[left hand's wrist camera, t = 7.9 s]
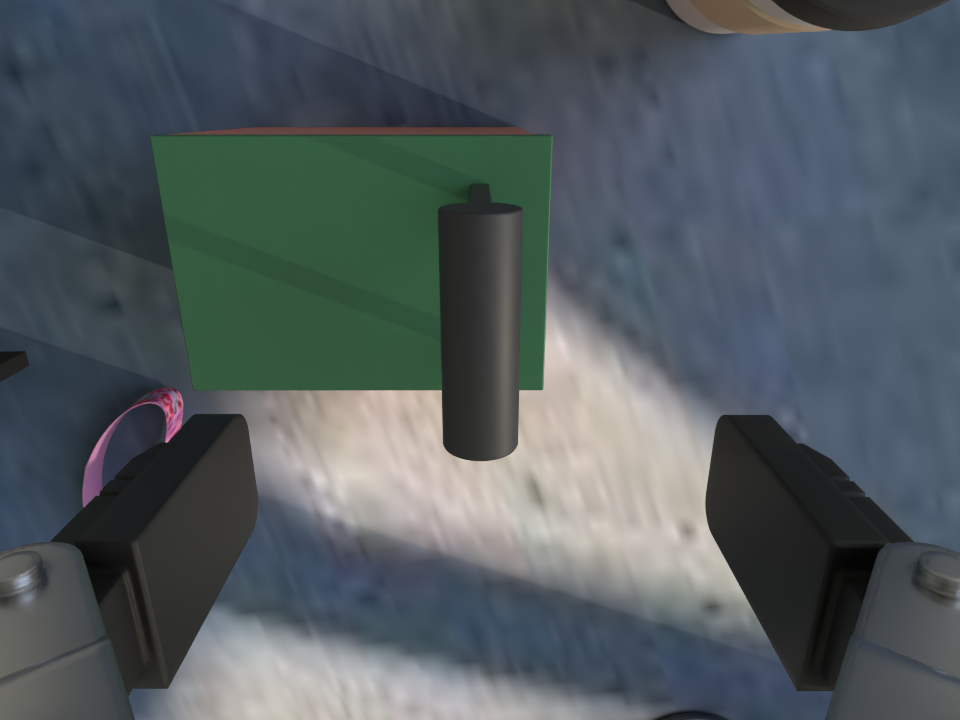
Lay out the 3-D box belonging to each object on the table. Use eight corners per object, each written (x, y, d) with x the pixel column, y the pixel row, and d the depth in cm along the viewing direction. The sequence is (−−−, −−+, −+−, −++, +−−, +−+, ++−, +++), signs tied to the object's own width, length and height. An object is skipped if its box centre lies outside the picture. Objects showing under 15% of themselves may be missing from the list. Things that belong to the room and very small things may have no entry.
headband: (127, 369, 38) (108, 384, 36) (194, 395, 39) (178, 411, 37) (84, 514, 41) (64, 535, 39) (146, 535, 42) (130, 557, 40)
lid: (549, 134, 24) (590, 148, 15) (540, 379, 27) (570, 507, 18) (163, 134, 24) (-20, 149, 15) (203, 379, 27) (73, 507, 18)
